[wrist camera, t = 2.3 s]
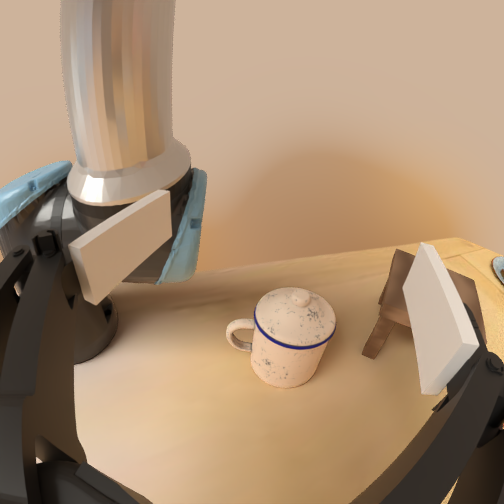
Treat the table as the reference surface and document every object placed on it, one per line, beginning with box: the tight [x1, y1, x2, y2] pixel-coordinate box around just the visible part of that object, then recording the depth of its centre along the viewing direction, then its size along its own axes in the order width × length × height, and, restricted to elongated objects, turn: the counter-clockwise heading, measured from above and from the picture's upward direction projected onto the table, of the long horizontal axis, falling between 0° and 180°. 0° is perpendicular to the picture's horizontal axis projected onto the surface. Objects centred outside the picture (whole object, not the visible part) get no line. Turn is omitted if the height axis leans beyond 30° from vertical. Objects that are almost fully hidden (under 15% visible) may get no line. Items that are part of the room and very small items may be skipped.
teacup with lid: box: [226, 287, 336, 388], centre depth 31 cm, size 12×9×12 cm
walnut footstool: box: [362, 249, 487, 359], centre depth 35 cm, size 16×16×10 cm
